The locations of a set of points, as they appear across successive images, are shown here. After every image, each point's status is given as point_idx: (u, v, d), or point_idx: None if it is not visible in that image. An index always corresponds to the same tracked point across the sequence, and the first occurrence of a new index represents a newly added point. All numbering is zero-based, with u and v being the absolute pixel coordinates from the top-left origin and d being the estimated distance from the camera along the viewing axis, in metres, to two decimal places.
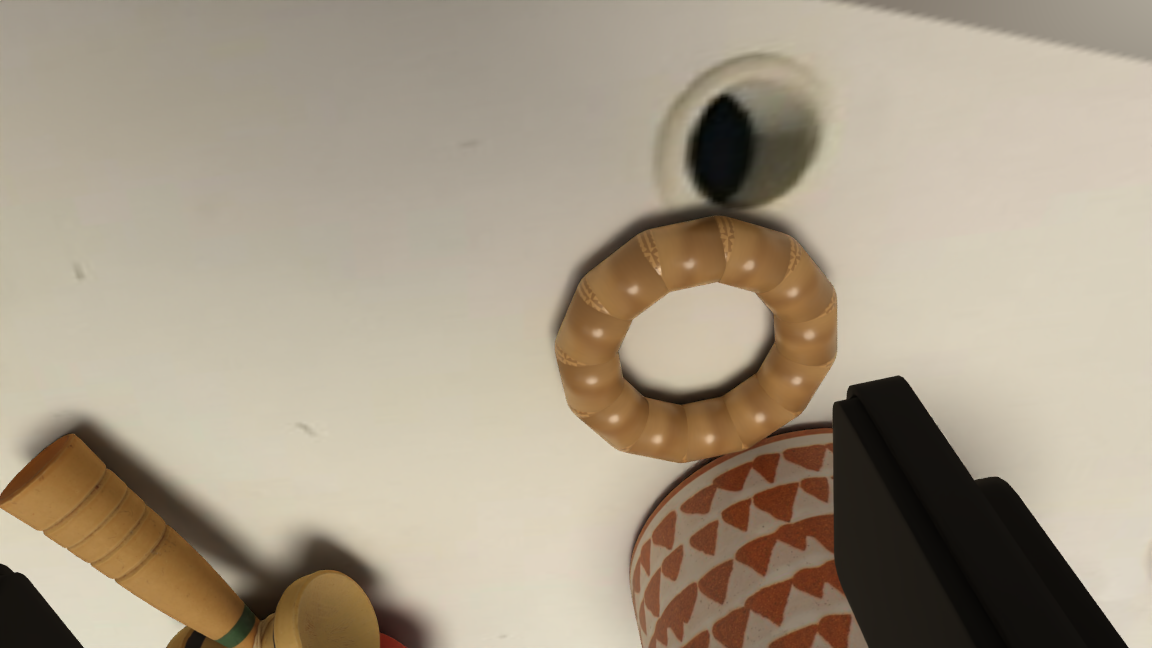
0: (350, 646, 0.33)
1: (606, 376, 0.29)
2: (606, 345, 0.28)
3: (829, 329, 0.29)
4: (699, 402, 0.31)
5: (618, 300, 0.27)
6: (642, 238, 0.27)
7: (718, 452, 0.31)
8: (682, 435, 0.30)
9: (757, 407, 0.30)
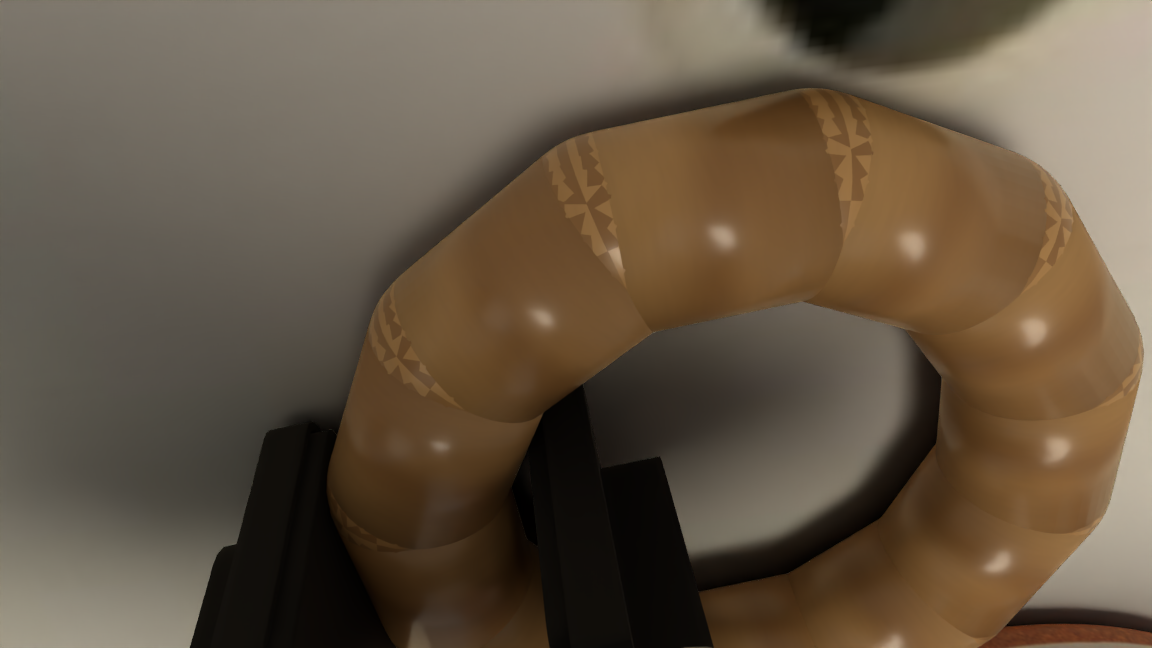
0: None
1: (472, 572, 0.10)
2: (460, 494, 0.09)
3: (1118, 436, 0.10)
4: (732, 594, 0.13)
5: (484, 363, 0.08)
6: (561, 158, 0.08)
7: None
8: None
9: (887, 625, 0.12)
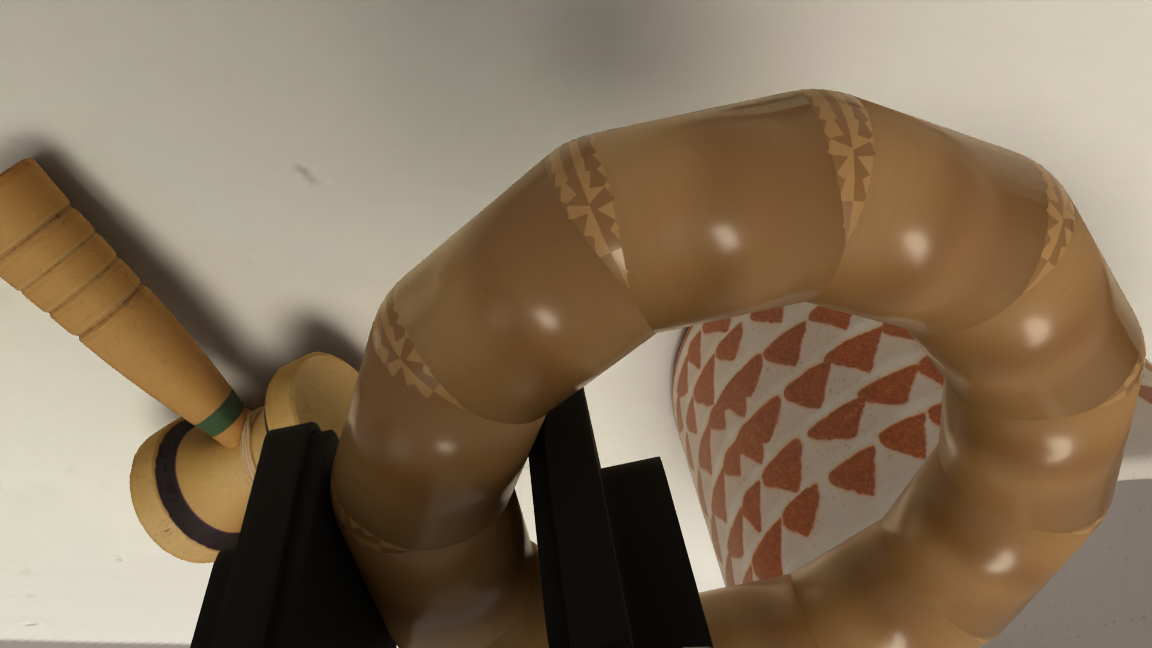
0: None
1: (475, 573, 0.10)
2: (463, 496, 0.09)
3: (1120, 435, 0.10)
4: (734, 594, 0.13)
5: (487, 364, 0.08)
6: (564, 159, 0.08)
7: None
8: None
9: (890, 625, 0.12)
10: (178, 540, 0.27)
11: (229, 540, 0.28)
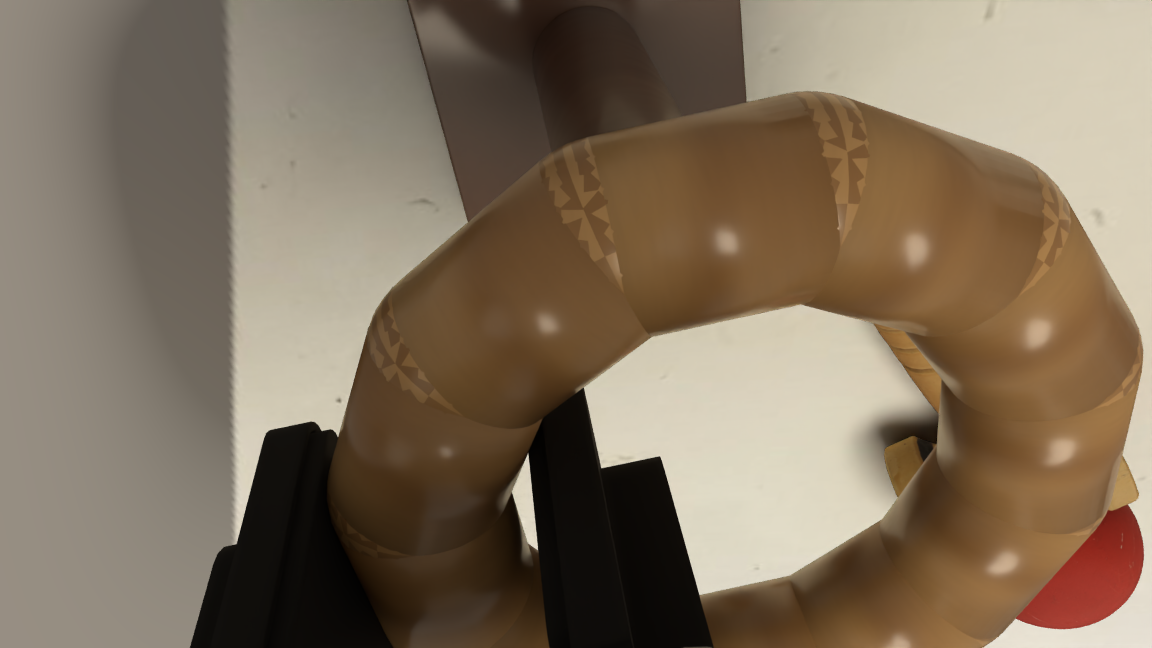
0: None
1: (473, 577, 0.10)
2: (460, 500, 0.09)
3: (1118, 436, 0.10)
4: (734, 597, 0.13)
5: (482, 368, 0.08)
6: (558, 163, 0.08)
7: None
8: None
9: (889, 627, 0.12)
10: None
11: None
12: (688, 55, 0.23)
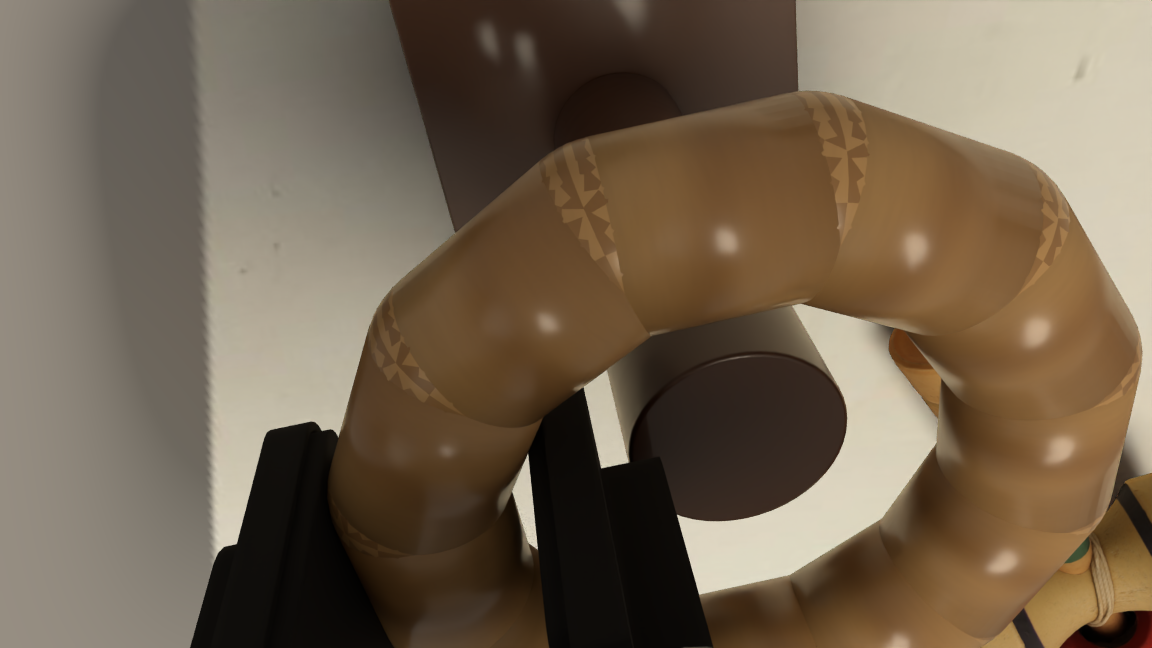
0: None
1: (473, 577, 0.10)
2: (460, 499, 0.09)
3: (1118, 435, 0.10)
4: (734, 596, 0.13)
5: (483, 368, 0.08)
6: (558, 163, 0.08)
7: None
8: None
9: (889, 626, 0.12)
10: None
11: None
12: None
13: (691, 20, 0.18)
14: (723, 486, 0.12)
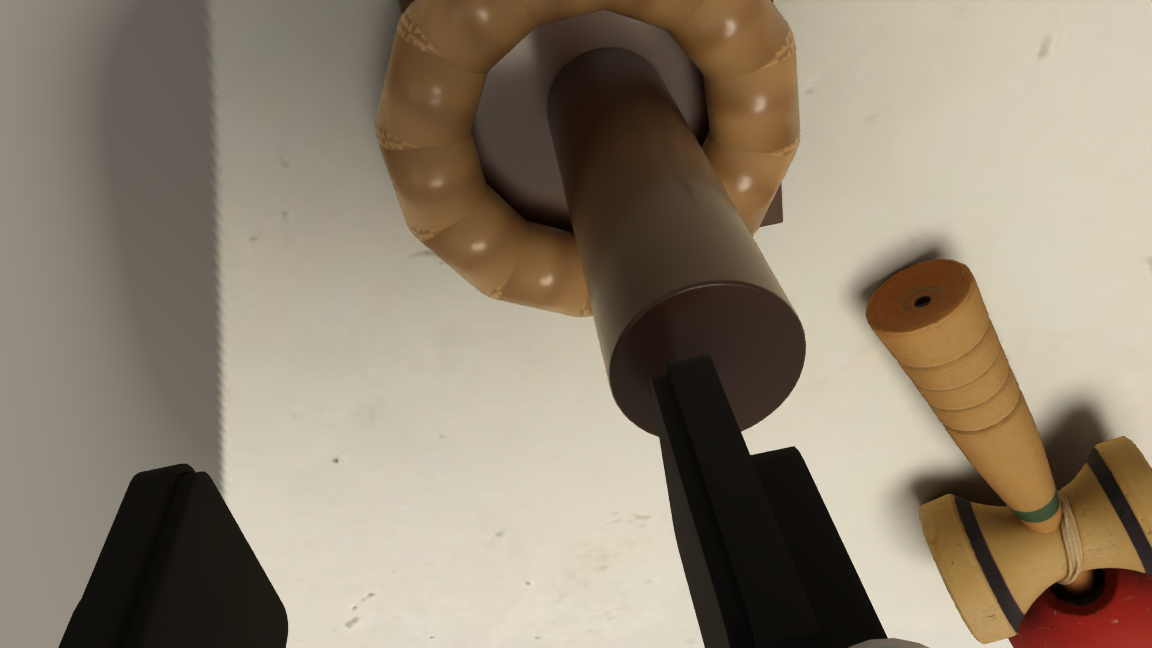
0: None
1: (451, 169, 0.19)
2: (443, 112, 0.18)
3: (784, 91, 0.19)
4: None
5: (451, 31, 0.17)
6: None
7: None
8: (578, 270, 0.21)
9: None
10: (999, 625, 0.28)
11: (1021, 621, 0.29)
12: None
13: None
14: None
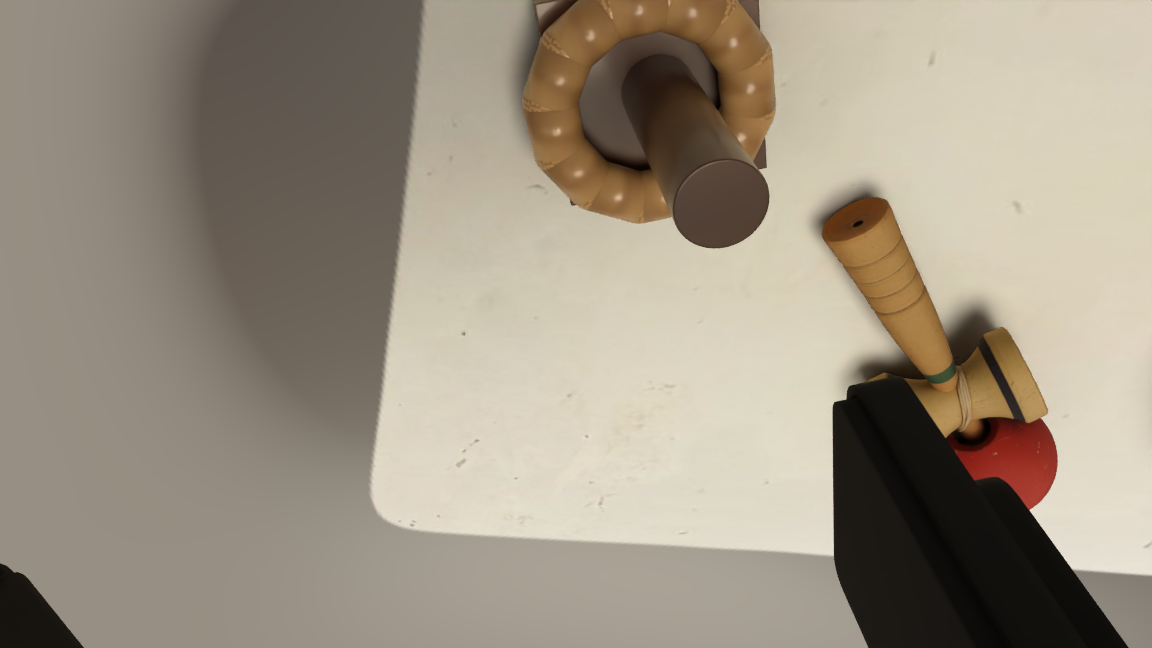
0: None
1: (567, 124, 0.32)
2: (566, 90, 0.31)
3: (765, 80, 0.32)
4: None
5: (575, 42, 0.31)
6: None
7: None
8: (639, 191, 0.34)
9: None
10: None
11: None
12: None
13: None
14: (714, 228, 0.26)
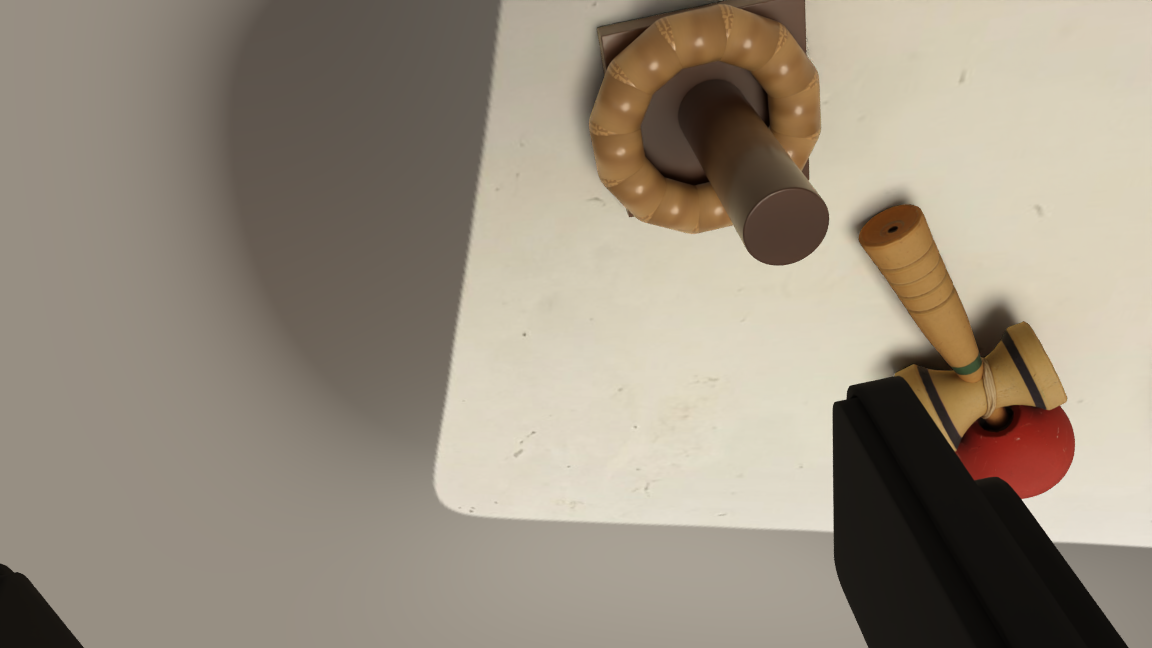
0: None
1: (631, 146, 0.35)
2: (631, 115, 0.34)
3: (813, 103, 0.35)
4: (708, 182, 0.38)
5: (640, 73, 0.33)
6: (659, 21, 0.33)
7: (724, 221, 0.37)
8: (694, 205, 0.37)
9: None
10: None
11: (959, 442, 0.45)
12: None
13: None
14: (779, 248, 0.29)
